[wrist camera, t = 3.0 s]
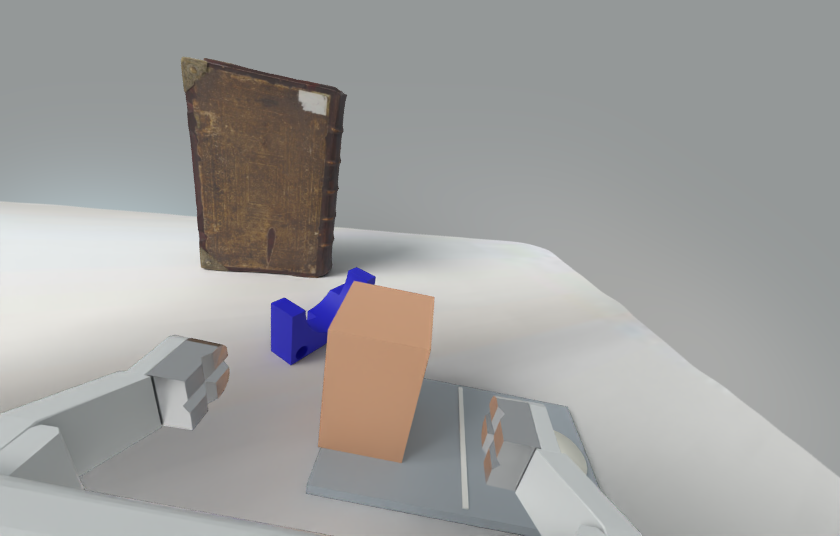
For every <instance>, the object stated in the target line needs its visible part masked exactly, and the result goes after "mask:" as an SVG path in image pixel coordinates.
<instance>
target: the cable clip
mask: <svg viewBox="0 0 840 536" xmlns="http://www.w3.org/2000/svg"><path fill="white" fill-rule="evenodd" d="M375 278H376V277H375V276H373V275H371V274H369V273H367V272H365V271H363V270H361V269H359V268H357V267H356V268H353V269H351V270H349V271H348V275H347V279H346V282H345V284H343V285H340V286H338V287H336V288H334V289H332V290H330V291H329V293H328V294H327V295H326V297H325V298H324V299H323V300H322V301H321V302H320V303H319V304H318V305H316V306H315V307H314V308H312V309H311V310H309V311H308V318H307V320H306V311H305V310H304V309H302V308H300V307H299V306H297V305H296V304H294V303H292V302H291V301H289V300H288V299H286V298H282V299H280V300H277V301H275V302H273V303H271V351H272V352H273V353H275V354H276V355H278V356H279V357H280V358H282V359H283V360H284V361H286V362H287V363H288V364H290V365H292V364H294V363H296V362H297V361H299V360H300V359H302V358H304V357H305V356H307V355H308V354H310V353H312V352H313V351H315V350H317V349H318V348H320V347H321V346H323V345H325V344H326V343H327V335H328V329H329V327H330V325H331V323H332V321H333V319H334V317H335V315H336V314H337V312H338V310H339V308H340V306H341V304H342V302H343V300H344V299H345V297H346V295H347V293H348V291H349V289H350V287H351V285H352V283H353V282H354V281H358V282H363V283H367V284H372V285H374V284H375Z"/></svg>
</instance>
